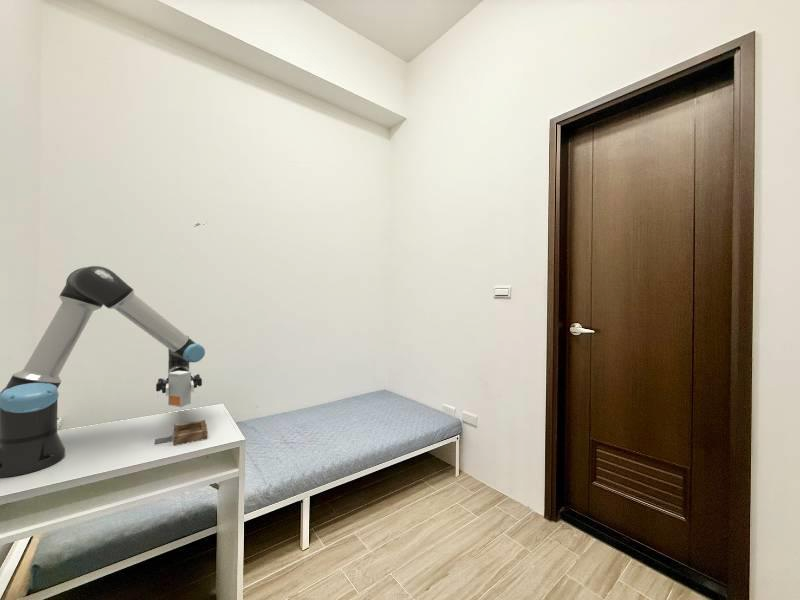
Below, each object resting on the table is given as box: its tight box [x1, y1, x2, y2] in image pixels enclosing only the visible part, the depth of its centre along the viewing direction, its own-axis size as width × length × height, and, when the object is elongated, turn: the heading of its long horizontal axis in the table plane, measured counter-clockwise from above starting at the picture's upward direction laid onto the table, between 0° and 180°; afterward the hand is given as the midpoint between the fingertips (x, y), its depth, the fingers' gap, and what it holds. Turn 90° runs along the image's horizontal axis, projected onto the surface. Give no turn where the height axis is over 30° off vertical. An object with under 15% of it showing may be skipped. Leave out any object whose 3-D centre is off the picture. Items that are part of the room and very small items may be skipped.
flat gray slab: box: [153, 435, 173, 445], centre depth 115 cm, size 5×4×1 cm
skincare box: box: [167, 371, 192, 408], centre depth 118 cm, size 6×4×12 cm
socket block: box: [172, 419, 208, 446], centre depth 119 cm, size 10×12×3 cm
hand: (180, 390), depth 114 cm, fingers closed on skincare box, 7 cm apart
